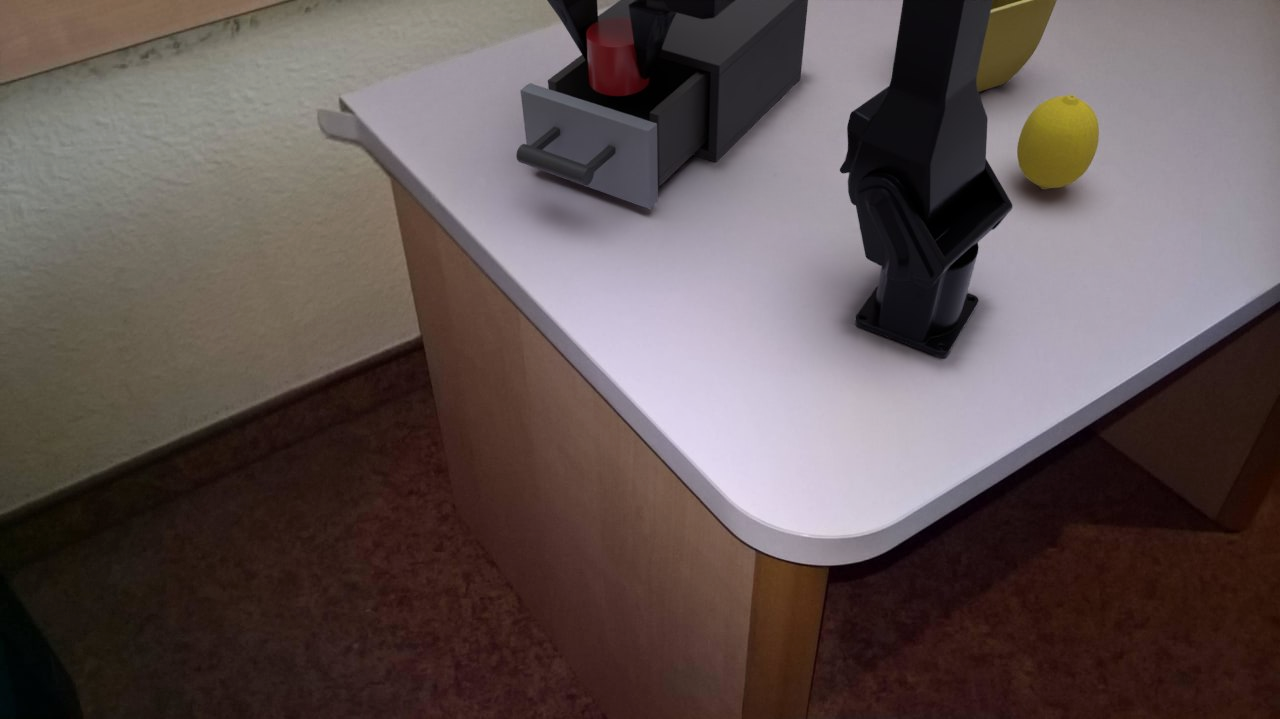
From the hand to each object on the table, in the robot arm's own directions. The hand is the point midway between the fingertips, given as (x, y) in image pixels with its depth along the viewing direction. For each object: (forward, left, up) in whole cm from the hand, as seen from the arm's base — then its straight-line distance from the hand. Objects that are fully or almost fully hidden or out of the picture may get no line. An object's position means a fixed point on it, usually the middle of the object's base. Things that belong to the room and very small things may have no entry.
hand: (619, 68), depth 77 cm
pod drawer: (0, 0, -8) cm, 8 cm away
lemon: (+14, -30, -9) cm, 34 cm away
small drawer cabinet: (+12, 0, -9) cm, 15 cm away
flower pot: (+27, -19, -9) cm, 34 cm away
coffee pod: (0, 0, -1) cm, 1 cm away
